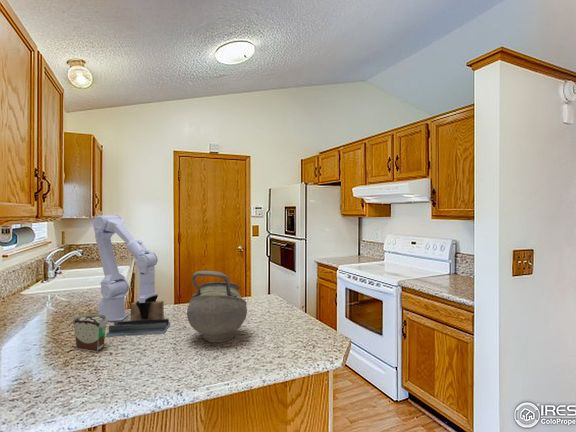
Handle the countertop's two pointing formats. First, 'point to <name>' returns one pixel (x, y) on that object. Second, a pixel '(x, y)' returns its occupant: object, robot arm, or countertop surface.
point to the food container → (90, 332)
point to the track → (138, 327)
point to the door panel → (154, 311)
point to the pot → (216, 308)
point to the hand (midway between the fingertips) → (147, 315)
